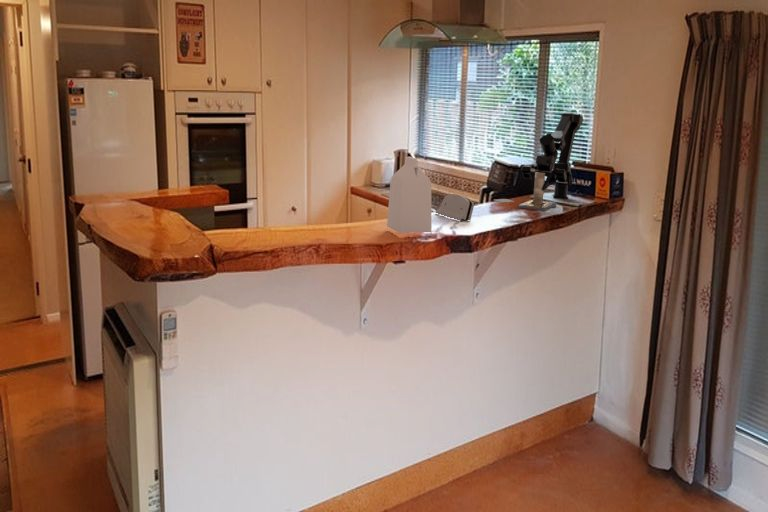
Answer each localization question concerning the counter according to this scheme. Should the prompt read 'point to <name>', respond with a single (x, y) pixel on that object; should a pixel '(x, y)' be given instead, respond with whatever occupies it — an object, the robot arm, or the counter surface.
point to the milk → (410, 199)
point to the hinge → (456, 207)
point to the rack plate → (541, 207)
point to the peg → (538, 188)
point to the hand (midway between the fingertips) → (537, 189)
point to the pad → (503, 200)
